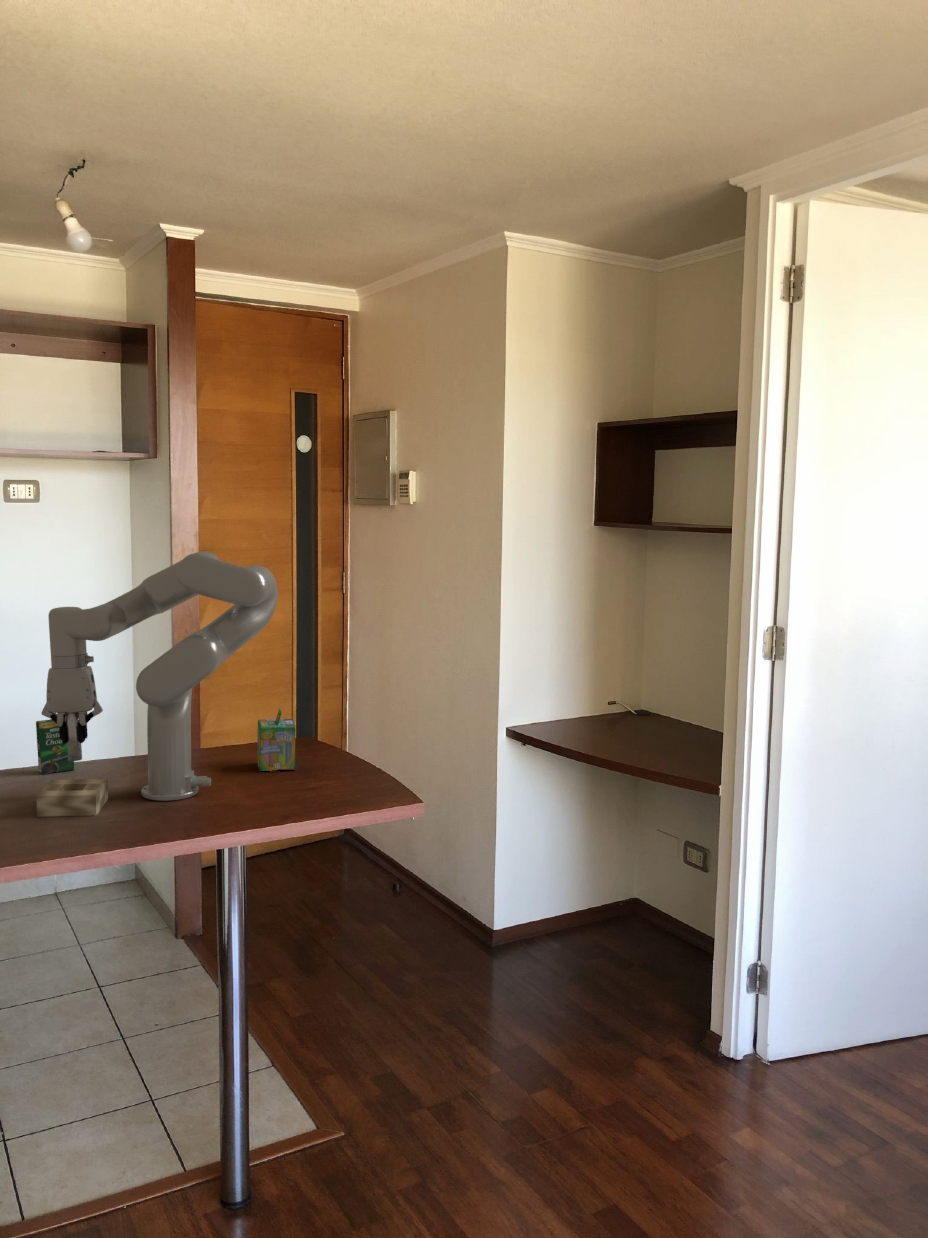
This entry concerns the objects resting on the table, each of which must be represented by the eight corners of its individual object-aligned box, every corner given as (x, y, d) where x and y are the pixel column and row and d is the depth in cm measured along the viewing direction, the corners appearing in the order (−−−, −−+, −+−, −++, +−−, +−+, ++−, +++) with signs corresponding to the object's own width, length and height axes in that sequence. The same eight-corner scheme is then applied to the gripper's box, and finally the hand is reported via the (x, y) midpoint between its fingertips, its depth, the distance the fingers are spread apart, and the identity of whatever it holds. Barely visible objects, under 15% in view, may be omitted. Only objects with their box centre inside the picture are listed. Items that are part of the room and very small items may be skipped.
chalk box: (257, 763, 255) (256, 706, 254) (293, 761, 258) (293, 705, 256) (258, 773, 246) (258, 714, 245) (295, 771, 249) (295, 713, 247)
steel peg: (83, 757, 228) (80, 706, 226) (80, 761, 225) (77, 708, 223) (69, 758, 227) (66, 706, 226) (66, 761, 224) (63, 709, 223)
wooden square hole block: (108, 798, 223) (107, 779, 223) (96, 815, 212) (95, 795, 211) (52, 799, 222) (51, 780, 221) (37, 816, 210) (36, 796, 209)
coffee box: (40, 775, 240) (38, 722, 238) (37, 772, 242) (35, 720, 241) (74, 770, 245) (73, 718, 243) (71, 768, 247) (70, 716, 245)
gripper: (110, 658, 228) (114, 736, 230) (35, 660, 226) (40, 739, 228) (103, 663, 221) (107, 744, 223) (26, 666, 218) (31, 747, 221)
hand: (74, 741), depth 226 cm, fingers closed on steel peg, 3 cm apart
